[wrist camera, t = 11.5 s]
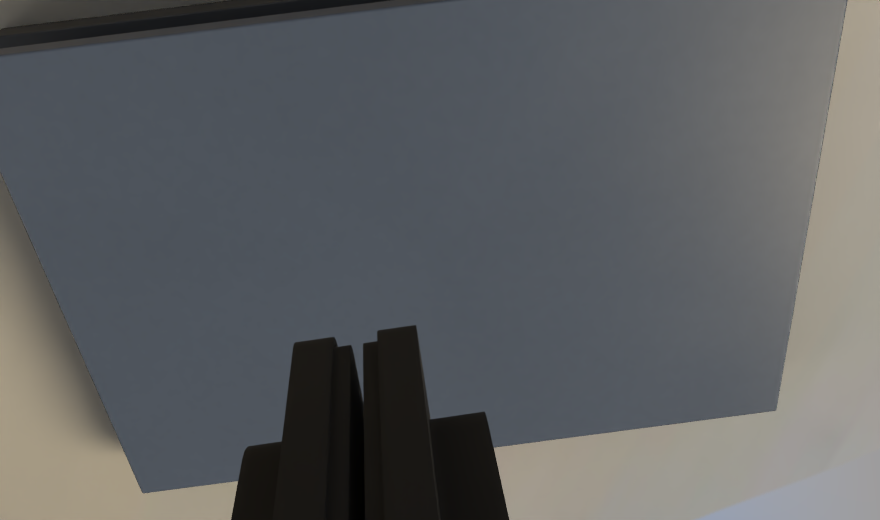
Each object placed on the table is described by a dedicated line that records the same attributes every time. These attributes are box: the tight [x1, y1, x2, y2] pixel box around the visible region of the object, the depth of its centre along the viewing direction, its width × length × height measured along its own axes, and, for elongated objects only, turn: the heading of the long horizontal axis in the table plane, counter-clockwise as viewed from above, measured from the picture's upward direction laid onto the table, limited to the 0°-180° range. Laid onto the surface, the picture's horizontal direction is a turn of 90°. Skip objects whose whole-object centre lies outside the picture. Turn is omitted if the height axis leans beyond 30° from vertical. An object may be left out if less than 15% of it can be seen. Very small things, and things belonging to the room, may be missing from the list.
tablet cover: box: [0, 0, 847, 493], centre depth 25 cm, size 16×23×1 cm
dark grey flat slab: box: [0, 0, 390, 49], centre depth 26 cm, size 16×23×1 cm
